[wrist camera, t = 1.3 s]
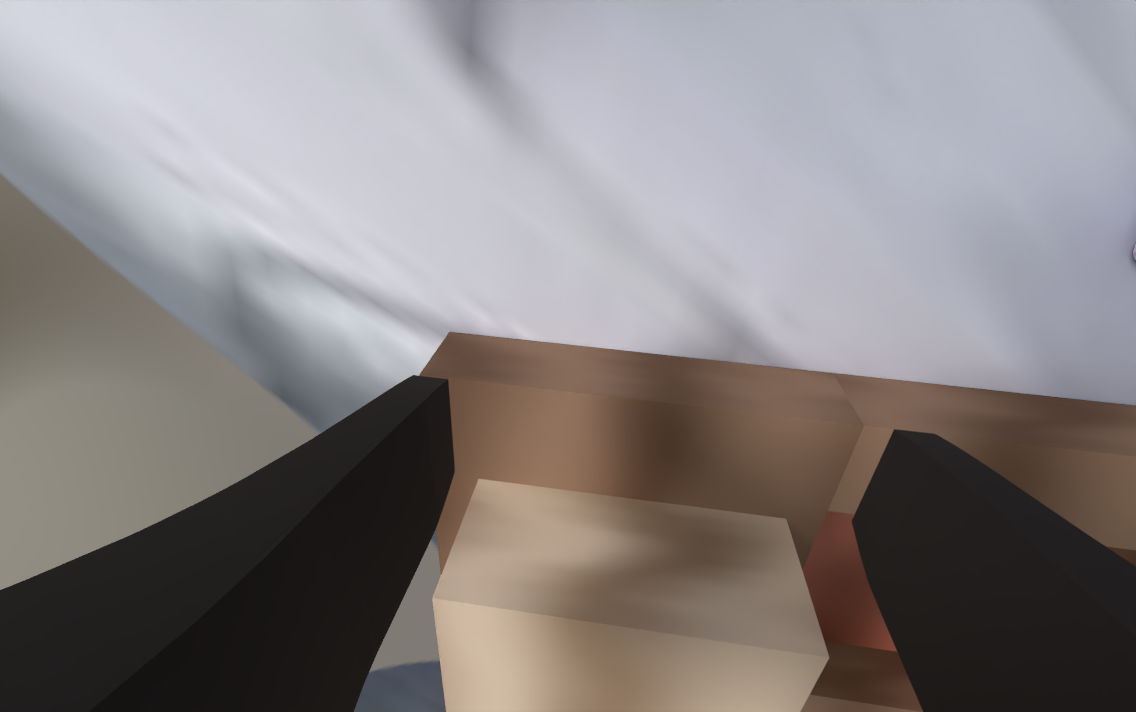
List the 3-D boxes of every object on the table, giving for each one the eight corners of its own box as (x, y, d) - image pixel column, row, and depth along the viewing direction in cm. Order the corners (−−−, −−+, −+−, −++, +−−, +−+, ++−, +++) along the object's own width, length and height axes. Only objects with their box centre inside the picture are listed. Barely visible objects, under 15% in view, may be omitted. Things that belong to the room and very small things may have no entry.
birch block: (786, 518, 15) (829, 657, 11) (733, 658, 18) (755, 796, 15) (478, 478, 16) (432, 598, 12) (484, 620, 19) (450, 743, 16)
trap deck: (1186, 411, 14) (1282, 473, 12) (865, 808, 28) (884, 872, 25) (449, 332, 16) (419, 375, 14) (477, 742, 29) (464, 797, 27)
